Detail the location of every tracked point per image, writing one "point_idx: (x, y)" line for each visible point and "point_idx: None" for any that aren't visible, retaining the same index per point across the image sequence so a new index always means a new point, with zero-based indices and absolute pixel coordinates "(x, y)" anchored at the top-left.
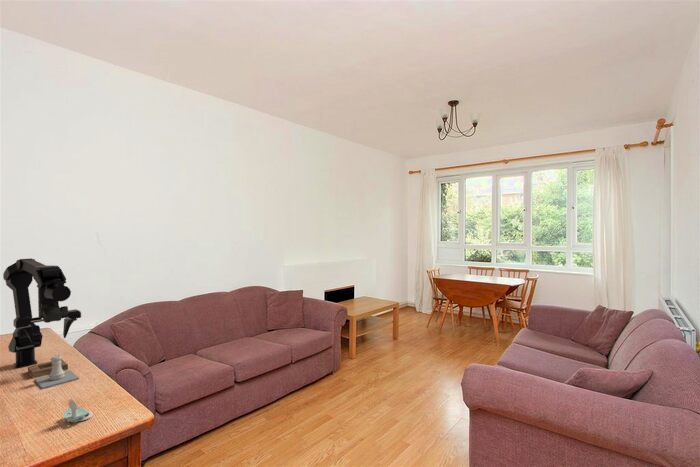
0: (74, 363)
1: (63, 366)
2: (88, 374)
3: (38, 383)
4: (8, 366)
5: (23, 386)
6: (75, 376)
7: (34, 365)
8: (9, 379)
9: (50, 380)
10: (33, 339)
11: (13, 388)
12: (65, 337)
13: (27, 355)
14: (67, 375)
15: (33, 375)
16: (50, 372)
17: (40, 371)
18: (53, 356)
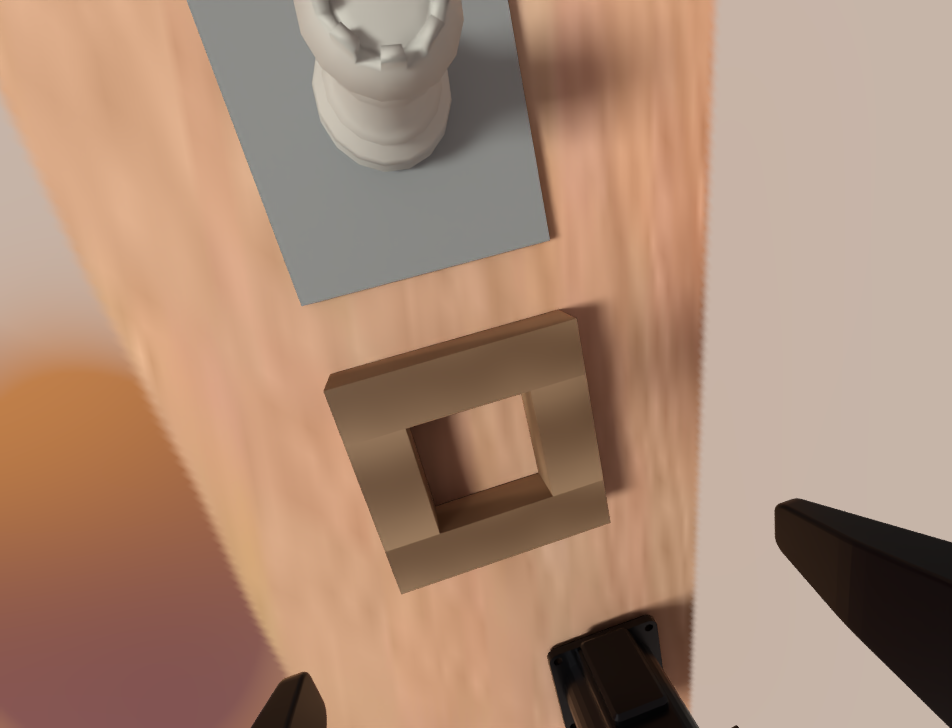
0: (302, 521)
1: (359, 377)
2: (85, 37)
3: (518, 66)
4: (679, 671)
5: (611, 128)
6: (205, 5)
7: (571, 527)
8: (682, 397)
9: None
10: (879, 552)
11: (668, 133)
12: (283, 683)
13: (634, 699)
14: (297, 123)
15: (564, 313)
16: (441, 88)
17: (526, 330)
18: (427, 16)
